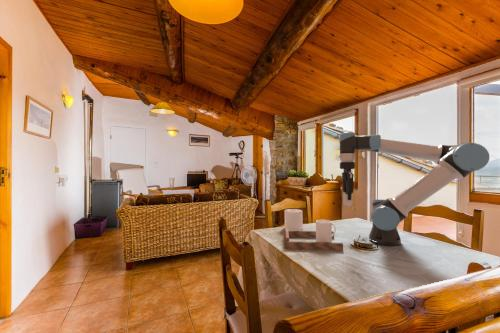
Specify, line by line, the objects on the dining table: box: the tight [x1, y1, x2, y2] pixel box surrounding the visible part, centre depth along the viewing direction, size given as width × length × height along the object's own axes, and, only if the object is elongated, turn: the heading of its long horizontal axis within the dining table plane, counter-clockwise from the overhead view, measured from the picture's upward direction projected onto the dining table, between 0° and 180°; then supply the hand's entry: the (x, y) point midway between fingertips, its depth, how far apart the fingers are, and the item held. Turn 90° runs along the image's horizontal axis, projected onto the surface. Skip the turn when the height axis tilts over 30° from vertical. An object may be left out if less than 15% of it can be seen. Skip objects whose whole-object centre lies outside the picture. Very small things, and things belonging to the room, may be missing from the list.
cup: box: [284, 208, 304, 231], centre depth 157 cm, size 12×12×12 cm
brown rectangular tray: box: [284, 227, 344, 252], centre depth 129 cm, size 28×21×5 cm
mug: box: [315, 219, 337, 242], centre depth 128 cm, size 12×8×12 cm
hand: (347, 205), depth 126 cm, fingers open, 4 cm apart
